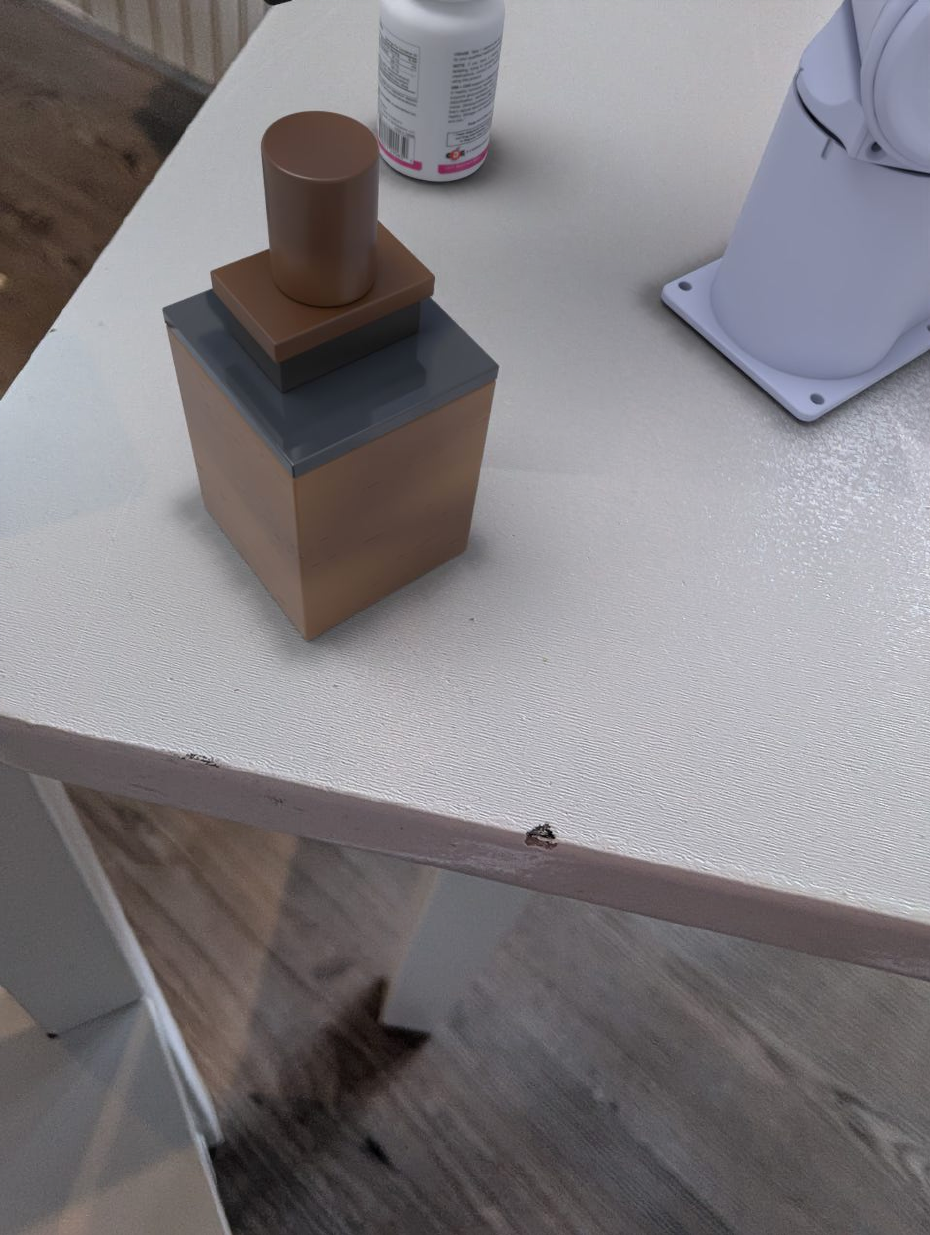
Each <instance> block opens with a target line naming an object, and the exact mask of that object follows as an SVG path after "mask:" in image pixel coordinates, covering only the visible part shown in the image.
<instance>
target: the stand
mask: <svg viewBox="0 0 930 1235" xmlns="http://www.w3.org/2000/svg"><path fill="white" fill-rule="evenodd" d="M165 328H166V332H167V338H168V342H169V347H170V352H171V356H172V362H173V366H174V370H175V374H176V379H177V384H178V389H179V393H180V399H181V403H182V407H183V412H184V417H185V421H186V422H185V423H186V427H187V432H188V436H189V441H190V444H191V445H190V446H191V450H192V455H193V459H194V464H195V468H196V469H195V470H196V474H197V478H198V479H197V480H198V483H199V488H200V493H201V498H202V502H203V507H204V509H205V510H206V511H207V512H208V515H209V516H210V517H211V518H212V519H213V520H214V522H215V523H216V525H217V526H218V527H219V529H220V530H221V531H222V532H223V534H224V535H225V536H226V537H227V539H228V540H229V541H230V543H231V544H232V545H233V547H234V548H235V549H236V551H237V552H238V553H239V555H240V556H241V558H243V560H244V561H245V563H246V564H247V565H248V567H249V568H250V569H251V570H252V572H253V573H254V575H255V576H256V578H258V580H259V581H260V582H261V583H262V585H263V586H264V588H265V589H266V591H267V592H268V593H269V594H270V596H271V597H272V598H273V600H274V601H275V602H276V604H277V605H278V606H279V608H280V609H281V610H282V611H283V613H284V614H285V616H286V617H287V618H288V619H289V621H290V623H291V624H292V625H293V626H294V627H295V629H296V630H297V631H298V633H299V634H300V635H301V637H302V638H303V640H305V641H306V642H308V641H311V640H313V639H314V638H316V637H318V636H320V635H321V634H323V633H324V632H326V631H328V630H330V629H332V628H333V627H335V626H337V625H339V624H341V623H342V622H344V621H346V620H347V619H349V618H351V617H353V616H354V615H356V614H358V613H360V612H361V611H363V610H365V609H366V608H368V607H370V606H372V605H374V604H375V603H377V602H379V601H380V600H383V599H384V598H386V597H387V596H389V595H392V594H393V593H394V592H397V591H398V590H400V589H402V588H404V587H405V586H407V585H409V584H410V583H413V582H414V581H416V580H417V579H419V578H421V577H423V576H424V575H426V574H428V573H430V572H432V571H433V570H435V569H436V568H438V567H440V566H442V565H444V564H445V563H447V562H449V561H450V560H452V559H454V558H456V557H457V556H459V555H461V554H464V553H465V552H466V551H467V549H468V544H469V537H470V531H471V526H472V521H473V515H474V510H475V504H476V497H477V492H478V488H479V487H478V486H479V480H480V475H481V470H482V465H483V464H482V463H483V459H484V458H483V457H484V452H485V447H486V441H487V435H488V429H489V424H490V419H491V412H492V407H493V401H494V396H495V391H496V384H497V381H496V380H494V381H492V382H490V383H488V384H486V385H484V386H482V387H480V388H478V389H476V390H474V391H472V392H470V393H468V394H466V395H464V396H462V397H460V398H458V399H456V400H454V401H452V402H450V403H448V404H446V405H444V406H442V407H440V408H438V409H436V410H434V411H432V412H430V413H427V414H425V415H423V416H421V417H419V418H417V419H415V420H413V421H411V422H409V423H407V424H405V425H403V426H401V427H399V428H397V429H395V430H393V431H391V432H389V433H387V434H385V435H383V436H381V437H379V438H377V439H375V440H373V441H371V442H369V443H367V444H365V445H363V446H361V447H359V448H356V449H354V450H352V451H350V452H348V453H346V454H344V455H342V456H340V457H338V458H336V459H334V460H332V461H330V462H328V463H326V464H324V465H322V466H320V467H318V468H316V469H314V470H312V471H310V472H308V473H306V474H304V475H302V476H300V477H298V478H296V479H293V478H292V477H291V476H290V474H289V473H288V472H287V471H286V469H285V468H284V467H283V466H282V465H281V463H280V462H279V461H278V460H277V458H276V457H275V456H274V455H273V454H272V452H271V451H270V450H269V449H268V448H267V446H266V445H265V444H264V443H263V441H262V440H261V439H260V438H259V437H258V435H257V434H256V433H255V432H254V430H253V429H252V428H251V427H250V426H249V424H248V423H247V422H246V421H245V419H244V418H243V417H242V416H241V415H240V413H239V412H238V411H237V410H236V409H235V407H234V406H233V405H232V404H231V402H230V401H229V400H228V399H227V398H226V396H225V395H224V394H223V393H222V391H221V390H220V389H219V388H218V387H217V385H216V384H215V383H214V382H213V381H212V379H211V378H210V377H209V376H208V374H207V373H206V372H205V371H204V370H203V368H202V367H201V366H200V365H199V363H198V362H197V361H196V360H195V359H194V357H193V356H192V355H191V354H190V353H189V351H188V350H187V349H186V348H185V346H184V345H183V344H182V343H181V342H180V340H179V339H178V338H177V337H176V335H175V334H174V333H173V332H172V331H171V329H170V328H169V327H168V326H167V325H166V324H165Z"/></svg>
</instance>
